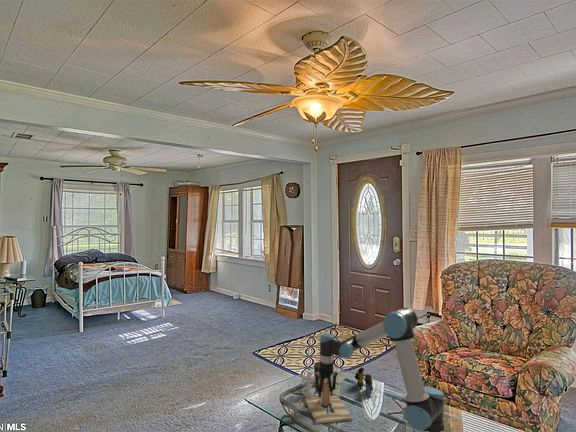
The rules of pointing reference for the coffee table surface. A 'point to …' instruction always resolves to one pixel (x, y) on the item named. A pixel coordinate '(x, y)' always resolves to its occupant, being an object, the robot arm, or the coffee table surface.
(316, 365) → the green brown figure
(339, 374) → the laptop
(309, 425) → the coffee table surface
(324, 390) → the peg
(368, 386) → the doll family
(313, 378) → the figurine
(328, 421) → the keyhole board
